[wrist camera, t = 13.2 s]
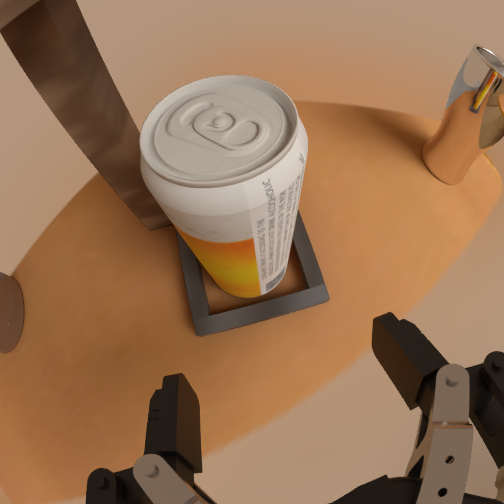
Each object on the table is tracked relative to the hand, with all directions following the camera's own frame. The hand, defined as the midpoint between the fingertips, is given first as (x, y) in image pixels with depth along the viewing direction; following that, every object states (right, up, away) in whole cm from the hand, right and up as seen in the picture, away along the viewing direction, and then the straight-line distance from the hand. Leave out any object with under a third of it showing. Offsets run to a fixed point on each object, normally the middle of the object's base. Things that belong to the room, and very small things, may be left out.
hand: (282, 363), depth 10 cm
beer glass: (+21, +14, +15) cm, 29 cm away
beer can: (-2, +4, +12) cm, 13 cm away
